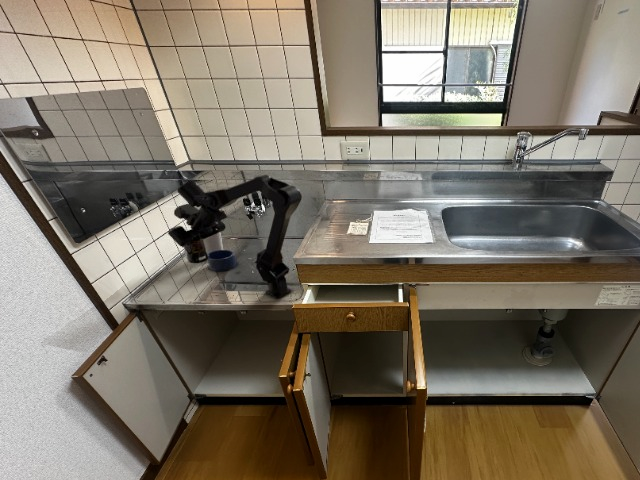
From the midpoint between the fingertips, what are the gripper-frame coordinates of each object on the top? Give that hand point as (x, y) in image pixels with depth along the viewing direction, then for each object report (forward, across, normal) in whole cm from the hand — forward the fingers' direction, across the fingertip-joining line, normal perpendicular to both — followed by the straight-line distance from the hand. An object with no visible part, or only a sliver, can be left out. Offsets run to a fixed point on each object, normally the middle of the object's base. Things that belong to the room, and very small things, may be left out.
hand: (190, 242), depth 116 cm
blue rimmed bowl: (+9, -10, +10) cm, 17 cm away
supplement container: (+4, 0, +6) cm, 7 cm away
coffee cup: (+16, -17, +3) cm, 23 cm away
